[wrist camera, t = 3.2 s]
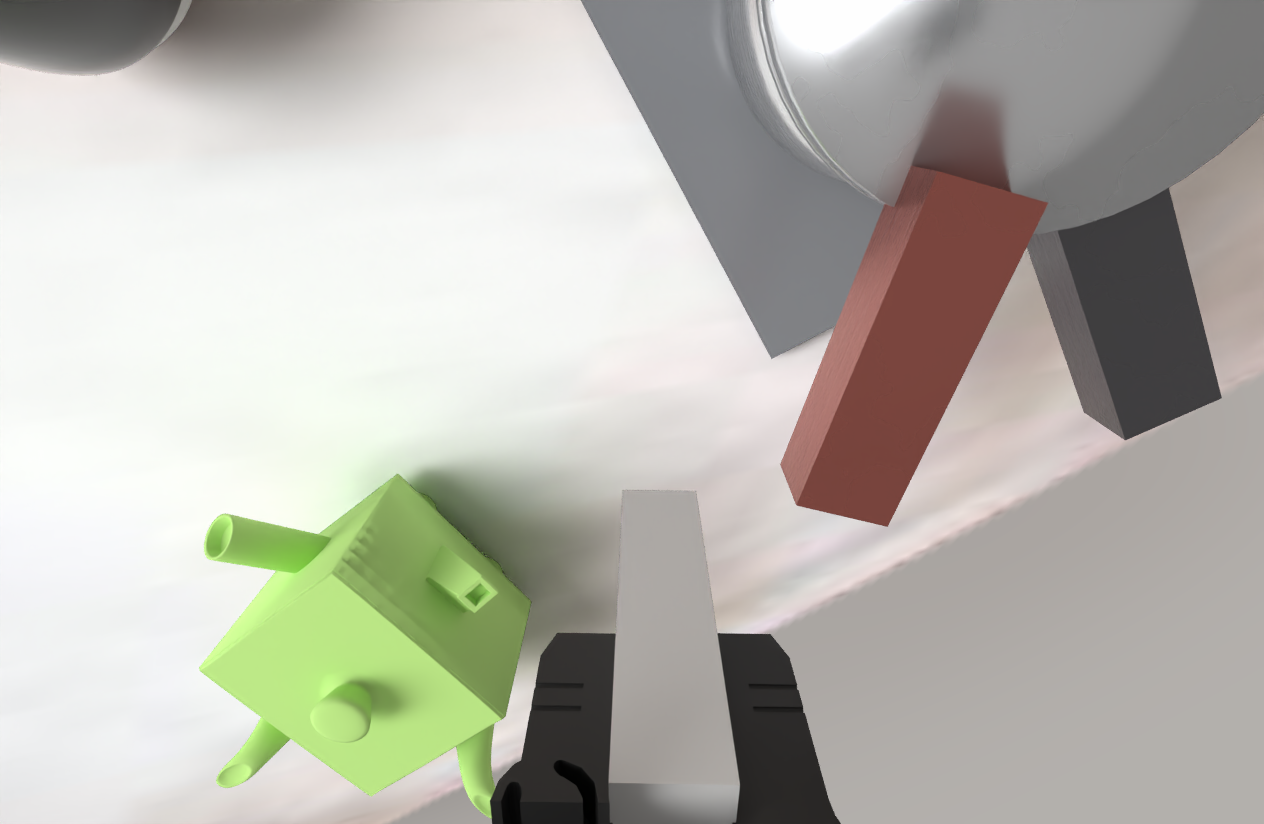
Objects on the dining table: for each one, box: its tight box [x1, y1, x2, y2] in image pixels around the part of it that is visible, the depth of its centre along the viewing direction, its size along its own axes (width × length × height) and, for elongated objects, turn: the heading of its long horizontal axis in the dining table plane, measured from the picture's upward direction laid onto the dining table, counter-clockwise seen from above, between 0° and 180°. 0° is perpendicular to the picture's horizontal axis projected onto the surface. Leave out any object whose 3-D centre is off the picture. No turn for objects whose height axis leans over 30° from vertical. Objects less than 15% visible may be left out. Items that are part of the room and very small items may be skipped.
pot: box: [726, 0, 1222, 440], centre depth 23 cm, size 23×15×10 cm, turn 30°
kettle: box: [199, 474, 531, 819], centre depth 34 cm, size 15×14×11 cm
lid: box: [761, 0, 1264, 527], centre depth 17 cm, size 23×15×3 cm, turn 166°
